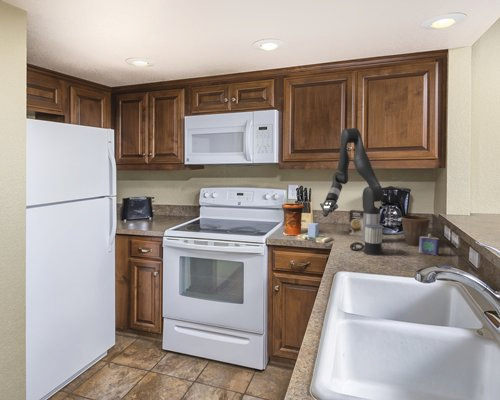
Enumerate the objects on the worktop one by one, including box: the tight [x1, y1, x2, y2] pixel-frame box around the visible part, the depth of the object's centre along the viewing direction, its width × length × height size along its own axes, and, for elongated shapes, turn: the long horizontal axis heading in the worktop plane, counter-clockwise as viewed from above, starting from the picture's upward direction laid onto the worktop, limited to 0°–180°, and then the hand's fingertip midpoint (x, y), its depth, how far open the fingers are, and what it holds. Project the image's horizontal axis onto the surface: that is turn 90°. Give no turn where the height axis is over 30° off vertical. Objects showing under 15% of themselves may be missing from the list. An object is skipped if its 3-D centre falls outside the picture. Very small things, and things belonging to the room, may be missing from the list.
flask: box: [418, 233, 440, 256], centre depth 180 cm, size 9×3×11 cm, turn 55°
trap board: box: [297, 232, 334, 244], centre depth 215 cm, size 18×12×2 cm, turn 52°
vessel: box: [281, 202, 304, 236], centre depth 231 cm, size 14×14×20 cm
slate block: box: [307, 222, 320, 238], centre depth 213 cm, size 5×5×8 cm
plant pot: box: [401, 215, 431, 247], centre depth 200 cm, size 15×15×16 cm
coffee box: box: [348, 209, 364, 237], centre depth 228 cm, size 9×6×16 cm
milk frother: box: [349, 224, 384, 256], centre depth 185 cm, size 14×16×15 cm
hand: (324, 216), depth 223 cm, fingers closed
